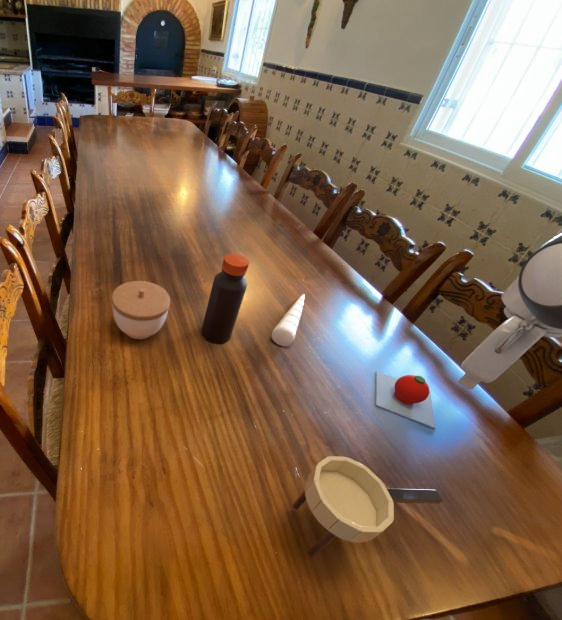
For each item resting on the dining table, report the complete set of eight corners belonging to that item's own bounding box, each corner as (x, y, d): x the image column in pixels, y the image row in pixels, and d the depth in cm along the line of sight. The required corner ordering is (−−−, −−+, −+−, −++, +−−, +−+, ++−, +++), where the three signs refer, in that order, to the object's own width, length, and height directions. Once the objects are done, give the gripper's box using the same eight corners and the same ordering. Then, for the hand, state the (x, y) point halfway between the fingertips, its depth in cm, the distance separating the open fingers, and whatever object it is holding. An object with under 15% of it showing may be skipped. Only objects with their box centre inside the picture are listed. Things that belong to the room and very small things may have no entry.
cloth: (429, 391, 73) (430, 390, 73) (434, 429, 66) (435, 428, 66) (375, 372, 77) (376, 370, 76) (375, 406, 70) (376, 404, 69)
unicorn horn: (317, 301, 95) (324, 286, 92) (288, 351, 80) (295, 335, 77) (299, 294, 97) (306, 279, 94) (268, 341, 82) (274, 325, 79)
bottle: (219, 321, 86) (240, 248, 74) (236, 339, 82) (261, 265, 69) (195, 327, 84) (212, 254, 71) (211, 347, 79) (232, 272, 66)
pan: (294, 565, 48) (333, 531, 40) (274, 496, 55) (304, 455, 47) (409, 567, 49) (469, 533, 41) (374, 498, 56) (420, 458, 48)
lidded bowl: (105, 314, 85) (106, 276, 78) (155, 307, 89) (160, 270, 82) (118, 352, 76) (120, 312, 69) (173, 343, 79) (180, 304, 72)
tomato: (424, 401, 71) (442, 383, 67) (410, 413, 68) (428, 394, 65) (397, 382, 74) (413, 364, 70) (383, 393, 72) (399, 374, 68)
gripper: (556, 344, 39) (473, 417, 48) (606, 293, 48) (528, 362, 57) (490, 312, 43) (424, 384, 52) (548, 270, 52) (483, 338, 61)
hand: (479, 372), depth 55 cm, fingers open, 8 cm apart
